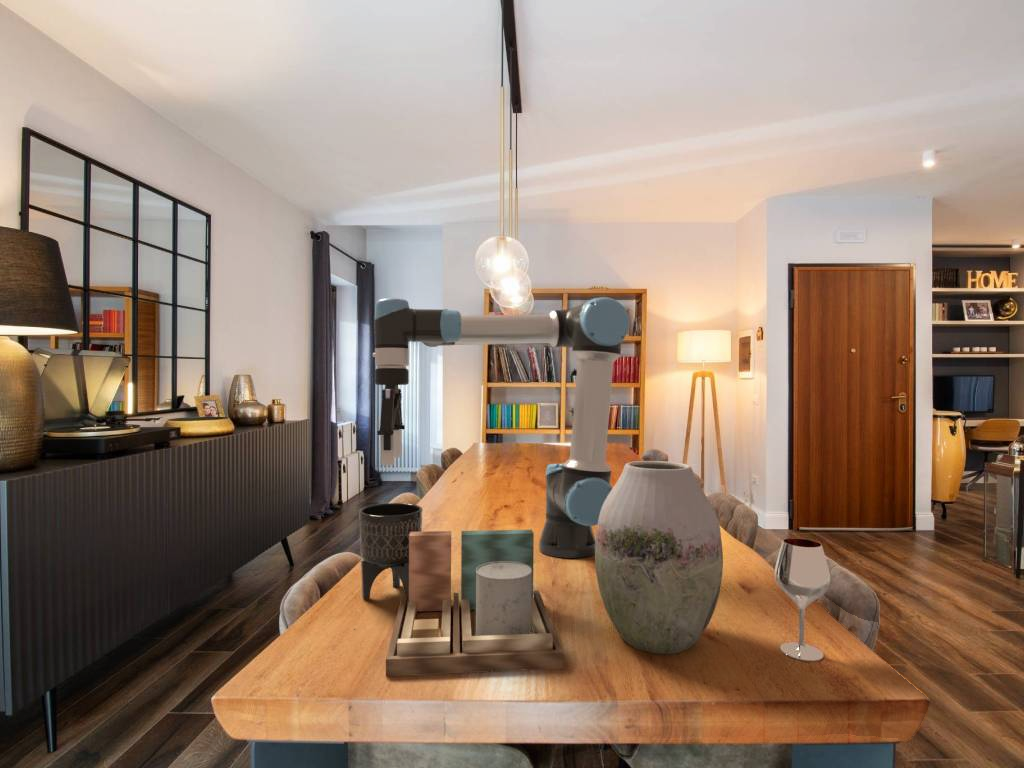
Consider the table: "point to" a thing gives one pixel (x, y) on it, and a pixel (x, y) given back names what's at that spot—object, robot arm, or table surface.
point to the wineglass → (802, 586)
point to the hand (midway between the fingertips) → (391, 461)
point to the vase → (659, 556)
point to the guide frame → (472, 660)
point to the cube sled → (428, 591)
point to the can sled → (473, 554)
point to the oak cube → (425, 628)
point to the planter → (387, 542)
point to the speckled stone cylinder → (503, 598)
